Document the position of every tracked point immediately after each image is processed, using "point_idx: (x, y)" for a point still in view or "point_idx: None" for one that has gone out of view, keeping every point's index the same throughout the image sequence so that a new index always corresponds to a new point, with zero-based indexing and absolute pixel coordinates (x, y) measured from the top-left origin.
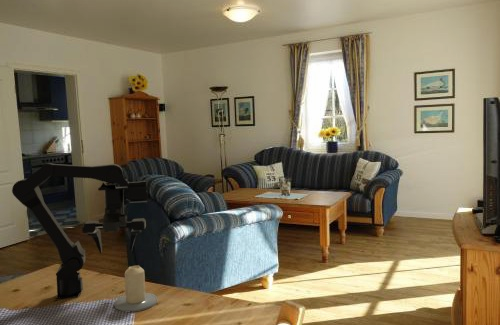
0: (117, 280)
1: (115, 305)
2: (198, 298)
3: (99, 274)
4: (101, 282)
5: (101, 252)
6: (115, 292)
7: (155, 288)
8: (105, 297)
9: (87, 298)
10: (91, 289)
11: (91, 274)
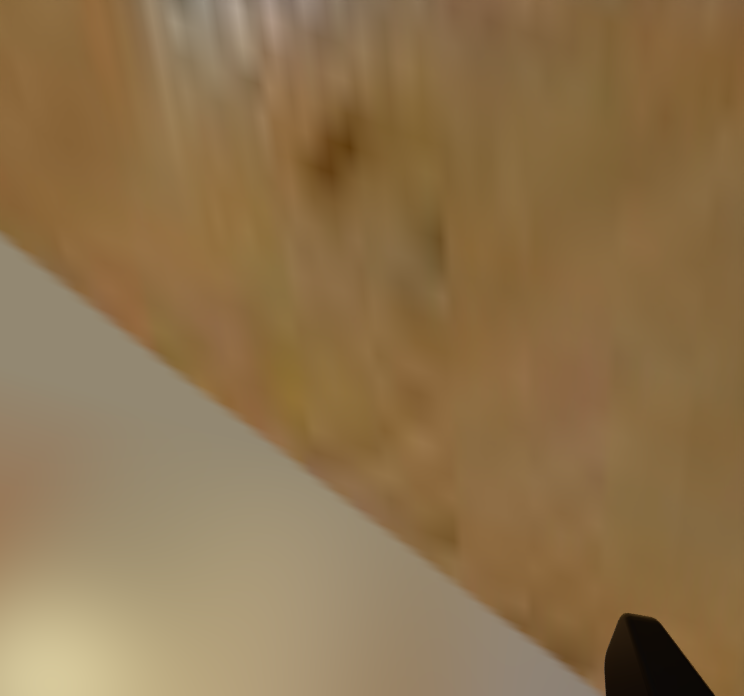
0: (408, 475)
1: None
2: None
3: (568, 652)
4: (555, 479)
5: (618, 637)
6: (406, 153)
7: (2, 138)
8: (516, 14)
9: (737, 49)
10: (663, 332)
11: None
